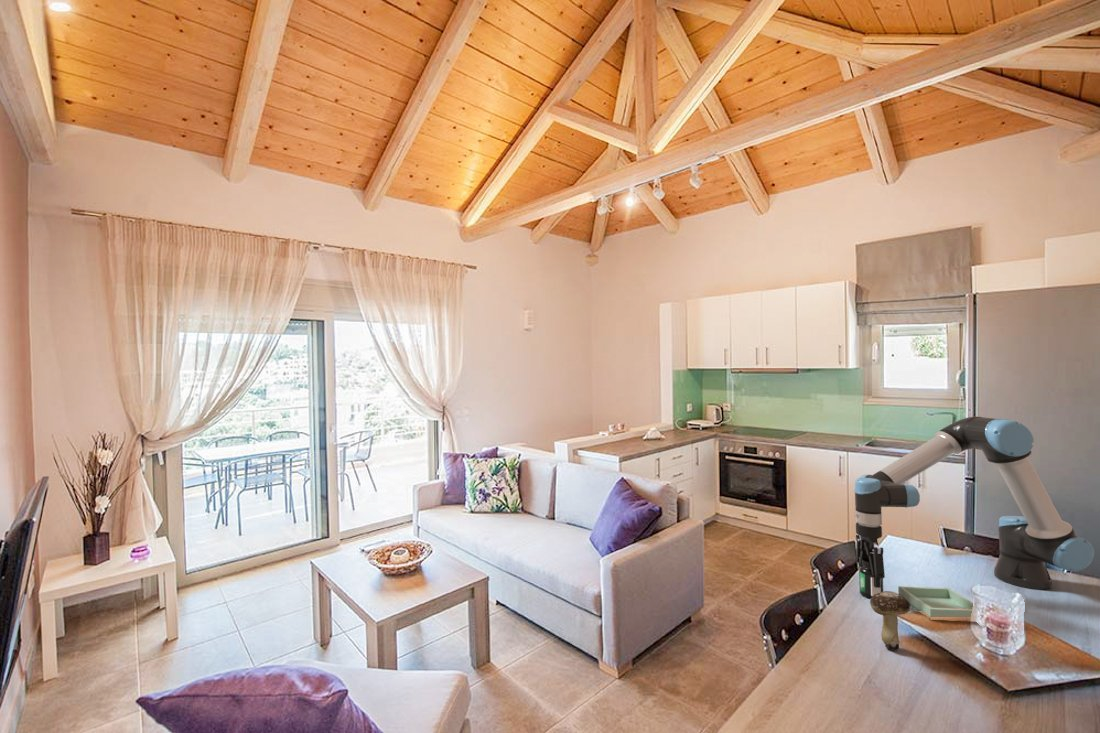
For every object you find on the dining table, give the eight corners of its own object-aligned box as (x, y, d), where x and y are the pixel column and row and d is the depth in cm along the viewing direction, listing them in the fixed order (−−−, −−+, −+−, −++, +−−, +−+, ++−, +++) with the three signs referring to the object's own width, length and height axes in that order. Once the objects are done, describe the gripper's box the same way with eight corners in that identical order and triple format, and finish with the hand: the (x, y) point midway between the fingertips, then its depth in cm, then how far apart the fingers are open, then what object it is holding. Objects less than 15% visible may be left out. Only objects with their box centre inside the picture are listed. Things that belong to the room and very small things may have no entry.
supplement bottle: (861, 598, 163) (860, 562, 163) (858, 589, 169) (857, 555, 170) (885, 601, 160) (884, 565, 160) (881, 593, 166) (880, 558, 167)
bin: (949, 598, 162) (948, 588, 162) (987, 622, 146) (986, 611, 146) (898, 596, 164) (898, 586, 164) (930, 620, 148) (930, 609, 148)
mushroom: (905, 643, 136) (903, 589, 136) (917, 660, 128) (915, 603, 128) (866, 637, 139) (865, 585, 139) (875, 654, 131) (874, 598, 131)
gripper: (843, 515, 176) (845, 578, 175) (871, 532, 156) (873, 603, 156) (866, 515, 174) (867, 579, 174) (896, 533, 155) (898, 605, 154)
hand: (870, 590), depth 165 cm, fingers closed on supplement bottle, 7 cm apart
